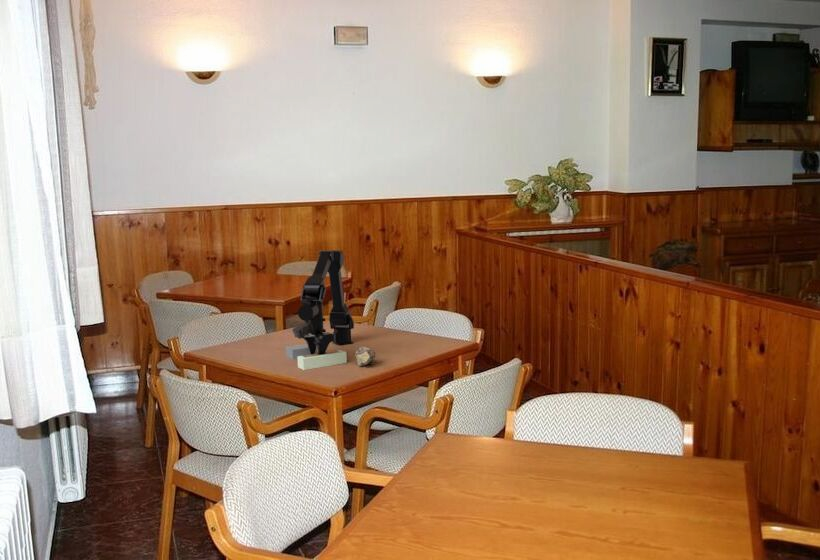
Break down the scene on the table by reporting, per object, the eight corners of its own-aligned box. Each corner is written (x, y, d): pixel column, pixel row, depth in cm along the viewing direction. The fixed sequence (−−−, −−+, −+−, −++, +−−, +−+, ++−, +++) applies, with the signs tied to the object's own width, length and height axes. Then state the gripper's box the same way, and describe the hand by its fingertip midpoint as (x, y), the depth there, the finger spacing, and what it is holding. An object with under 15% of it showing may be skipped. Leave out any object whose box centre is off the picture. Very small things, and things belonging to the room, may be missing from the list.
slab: (310, 353, 323) (309, 343, 322) (317, 356, 317) (317, 346, 316) (285, 356, 318) (285, 346, 318) (292, 360, 312) (292, 350, 312)
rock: (365, 353, 294) (382, 343, 302) (341, 349, 301) (358, 340, 309) (368, 372, 296) (385, 361, 304) (343, 367, 303) (360, 358, 310)
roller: (324, 360, 310) (324, 351, 310) (328, 362, 308) (328, 353, 307) (304, 363, 306) (304, 354, 306) (309, 365, 303) (308, 356, 303)
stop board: (340, 360, 310) (339, 349, 309) (346, 362, 305) (346, 352, 305) (297, 367, 300) (297, 356, 300) (303, 370, 296) (303, 359, 296)
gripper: (284, 314, 308) (286, 355, 310) (306, 322, 292) (307, 365, 294) (311, 310, 314) (313, 351, 316) (334, 318, 298) (336, 361, 300)
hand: (316, 357), depth 306 cm, fingers open, 6 cm apart
